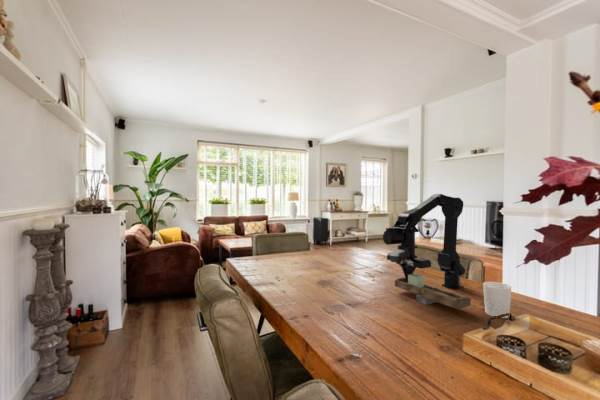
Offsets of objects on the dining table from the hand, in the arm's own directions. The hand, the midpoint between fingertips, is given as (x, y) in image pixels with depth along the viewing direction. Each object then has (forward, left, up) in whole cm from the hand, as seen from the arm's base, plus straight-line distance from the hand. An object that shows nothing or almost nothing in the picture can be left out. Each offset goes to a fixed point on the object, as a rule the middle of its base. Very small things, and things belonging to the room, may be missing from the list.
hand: (407, 280), depth 117 cm
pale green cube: (0, +4, -1) cm, 4 cm away
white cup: (-10, +29, -6) cm, 31 cm away
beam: (0, +10, -6) cm, 12 cm away
